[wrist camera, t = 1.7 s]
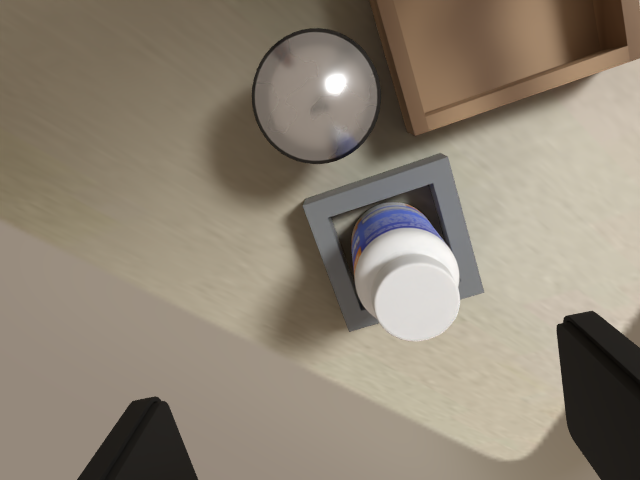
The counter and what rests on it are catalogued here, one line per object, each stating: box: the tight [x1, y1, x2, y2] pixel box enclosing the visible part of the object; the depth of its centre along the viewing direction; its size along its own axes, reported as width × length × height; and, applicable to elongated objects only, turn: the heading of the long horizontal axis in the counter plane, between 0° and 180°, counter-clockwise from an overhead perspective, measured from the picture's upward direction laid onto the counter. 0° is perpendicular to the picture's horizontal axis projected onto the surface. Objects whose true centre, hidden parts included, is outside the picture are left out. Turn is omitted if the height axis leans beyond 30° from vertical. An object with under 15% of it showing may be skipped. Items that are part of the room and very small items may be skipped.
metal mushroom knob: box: [252, 28, 381, 164], centre depth 25 cm, size 6×6×6 cm
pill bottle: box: [351, 202, 460, 341], centre depth 25 cm, size 5×5×10 cm
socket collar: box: [303, 153, 484, 332], centre depth 29 cm, size 9×9×2 cm
